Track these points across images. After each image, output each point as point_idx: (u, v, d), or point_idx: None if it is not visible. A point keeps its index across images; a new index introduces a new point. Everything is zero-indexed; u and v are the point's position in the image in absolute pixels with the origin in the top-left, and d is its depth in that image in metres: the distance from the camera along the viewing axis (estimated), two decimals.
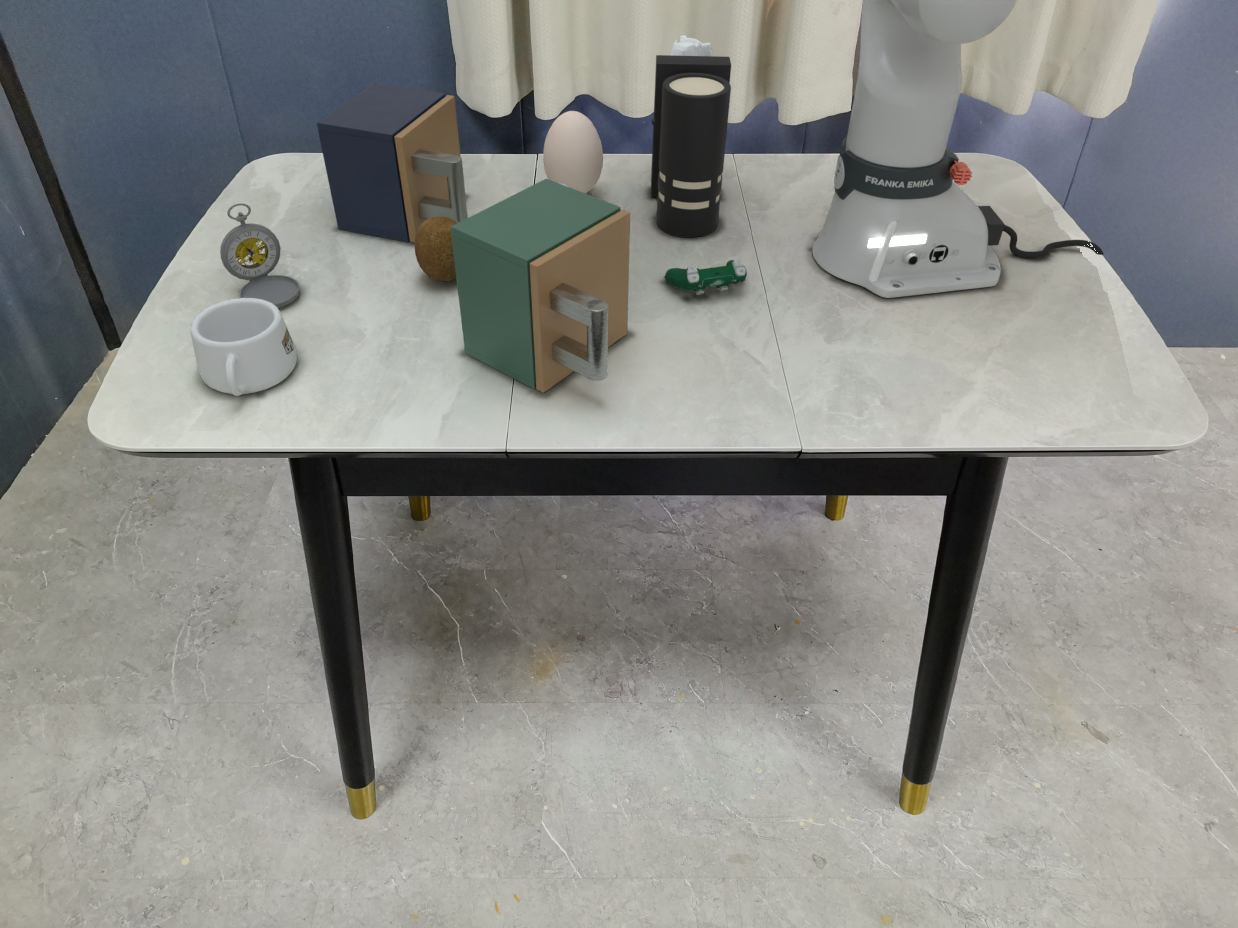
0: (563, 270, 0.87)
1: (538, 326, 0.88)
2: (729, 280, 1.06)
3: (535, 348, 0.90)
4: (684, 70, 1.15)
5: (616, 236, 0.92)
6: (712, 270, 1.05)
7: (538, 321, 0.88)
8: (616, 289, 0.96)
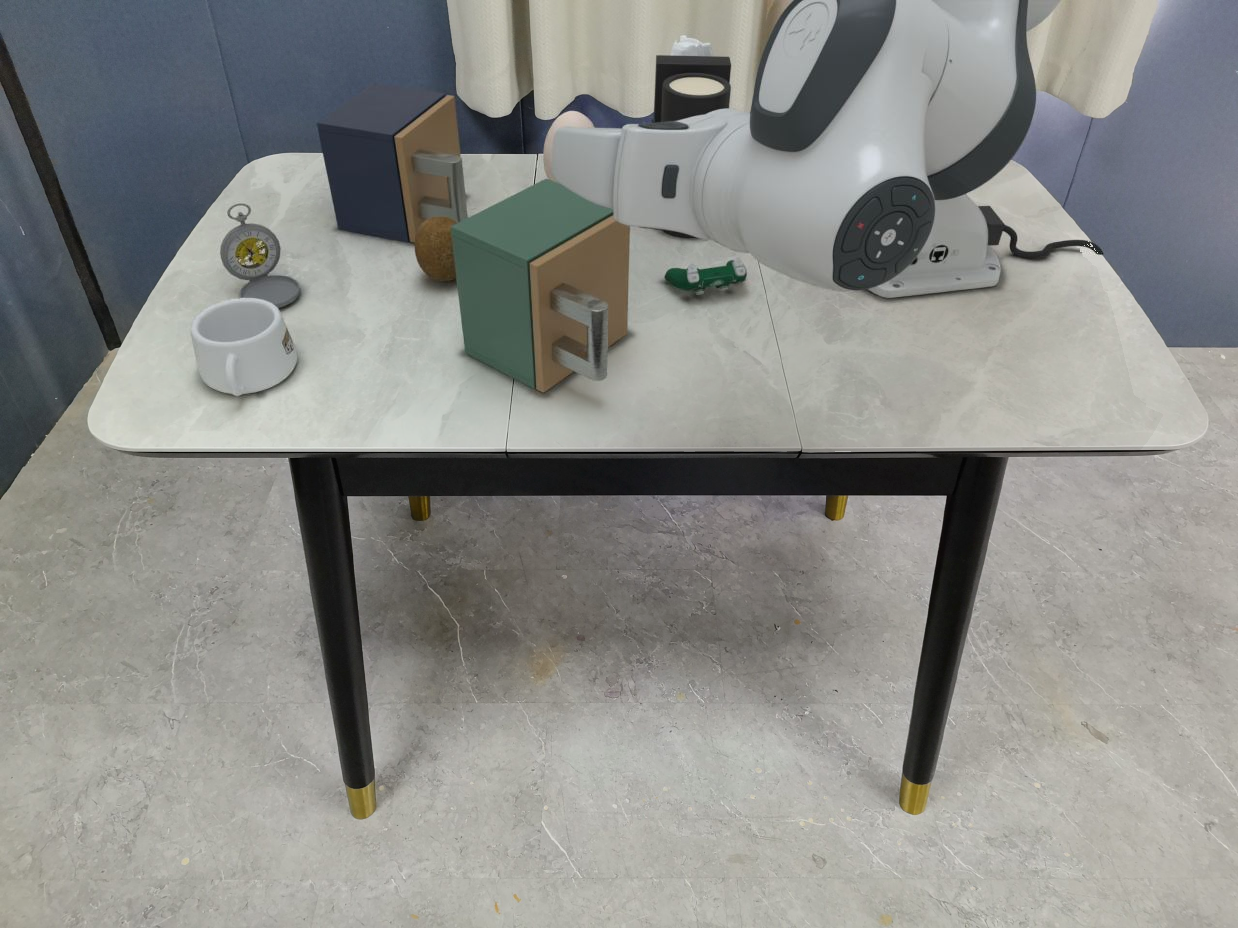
0: (563, 270, 0.87)
1: (538, 326, 0.88)
2: (729, 281, 1.06)
3: (535, 348, 0.90)
4: (684, 70, 1.15)
5: (616, 236, 0.92)
6: (712, 270, 1.05)
7: (538, 321, 0.88)
8: (616, 289, 0.96)
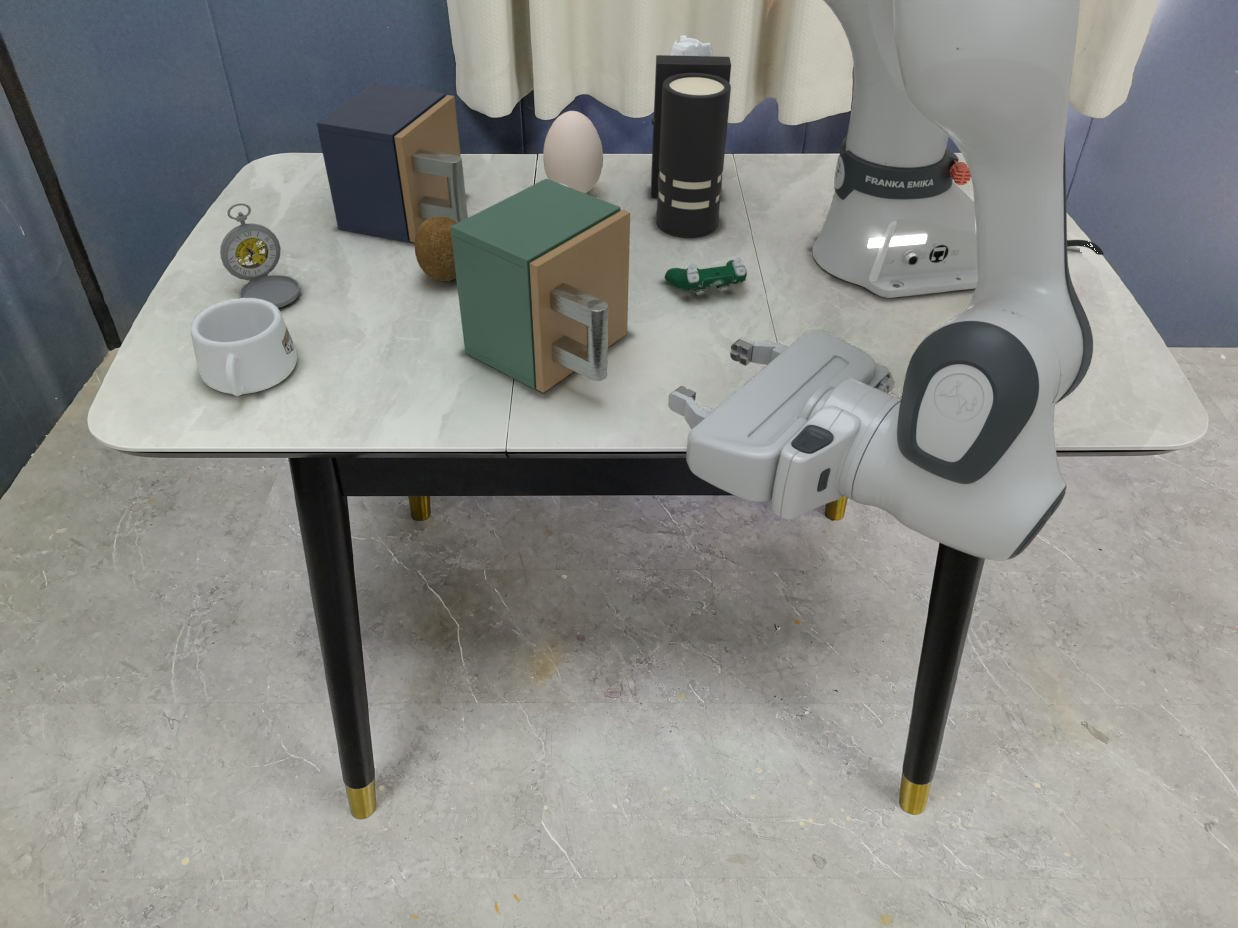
0: (563, 270, 0.87)
1: (538, 326, 0.88)
2: (729, 280, 1.06)
3: (535, 348, 0.90)
4: (684, 70, 1.15)
5: (616, 236, 0.92)
6: (712, 270, 1.05)
7: (538, 321, 0.88)
8: (616, 289, 0.96)
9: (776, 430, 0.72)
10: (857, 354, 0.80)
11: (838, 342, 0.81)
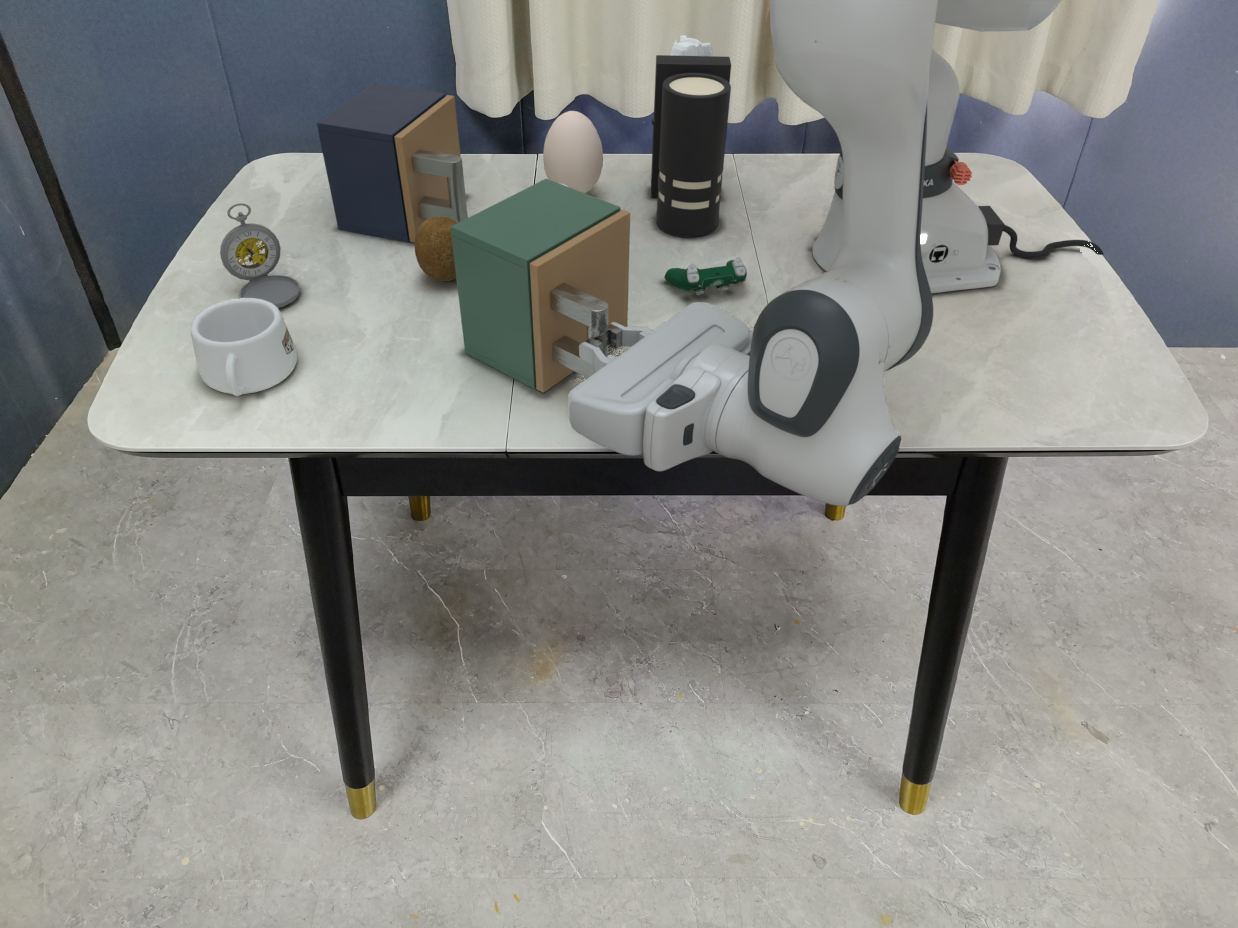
0: (563, 270, 0.87)
1: (538, 326, 0.88)
2: (729, 280, 1.06)
3: (535, 348, 0.90)
4: (684, 70, 1.15)
5: (616, 236, 0.92)
6: (712, 270, 1.05)
7: (538, 321, 0.88)
8: (616, 289, 0.96)
9: (648, 390, 0.80)
10: (734, 323, 0.87)
11: (718, 313, 0.88)
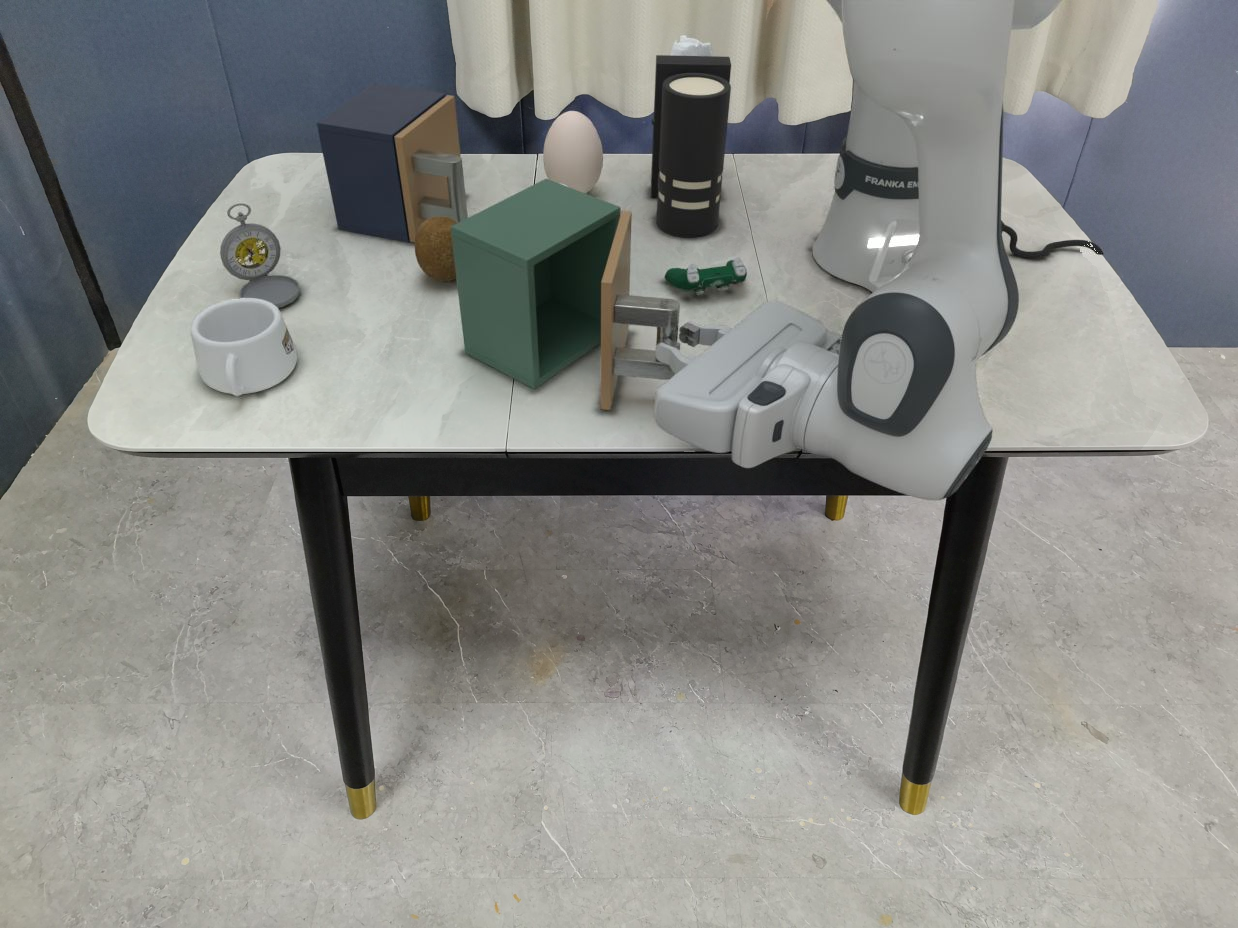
0: (617, 281, 0.86)
1: (608, 343, 0.86)
2: (729, 280, 1.06)
3: (603, 367, 0.88)
4: (684, 70, 1.15)
5: (628, 238, 0.92)
6: (712, 270, 1.05)
7: (609, 338, 0.86)
8: (627, 290, 0.96)
9: (735, 388, 0.80)
10: (810, 321, 0.88)
11: (793, 311, 0.89)
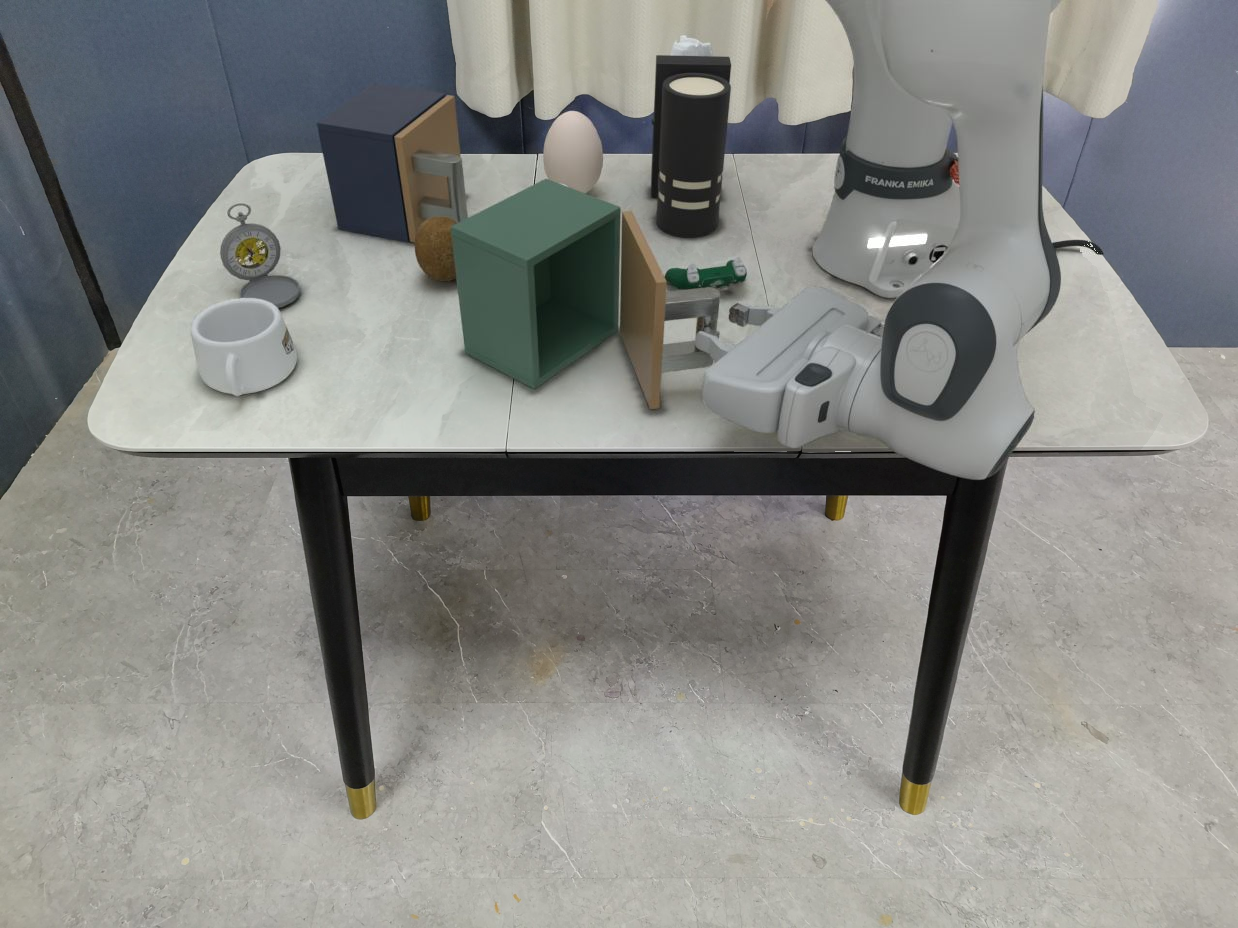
0: None
1: (661, 342, 0.87)
2: (729, 280, 1.06)
3: (654, 367, 0.88)
4: (684, 70, 1.15)
5: None
6: (712, 270, 1.05)
7: (661, 337, 0.86)
8: None
9: (781, 370, 0.82)
10: (852, 306, 0.90)
11: (835, 296, 0.91)
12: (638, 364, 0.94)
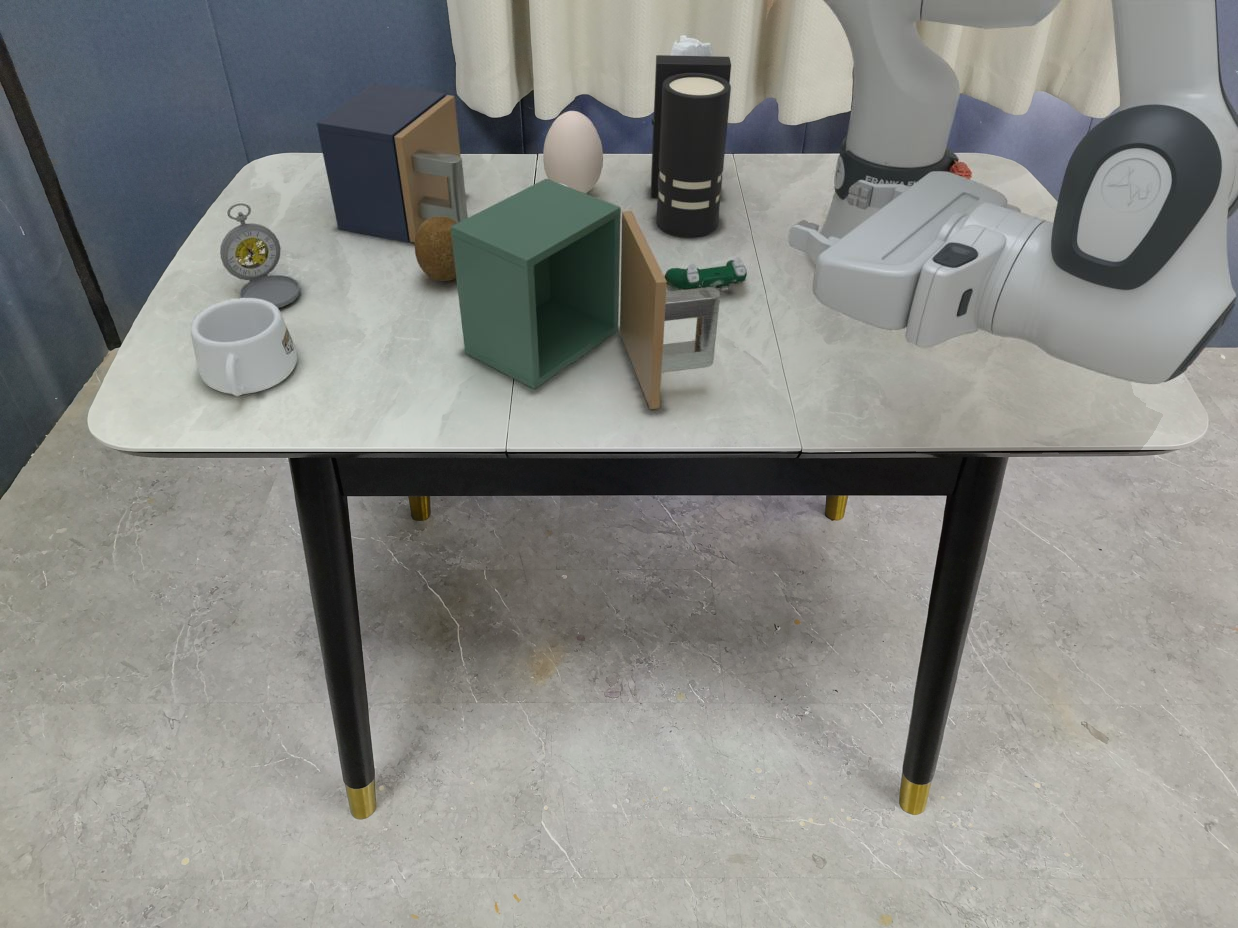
0: None
1: (661, 342, 0.87)
2: (729, 280, 1.06)
3: (654, 367, 0.88)
4: (684, 70, 1.15)
5: None
6: (712, 270, 1.05)
7: (661, 337, 0.86)
8: None
9: (911, 255, 0.68)
10: (987, 191, 0.75)
11: (965, 181, 0.77)
12: (638, 364, 0.94)
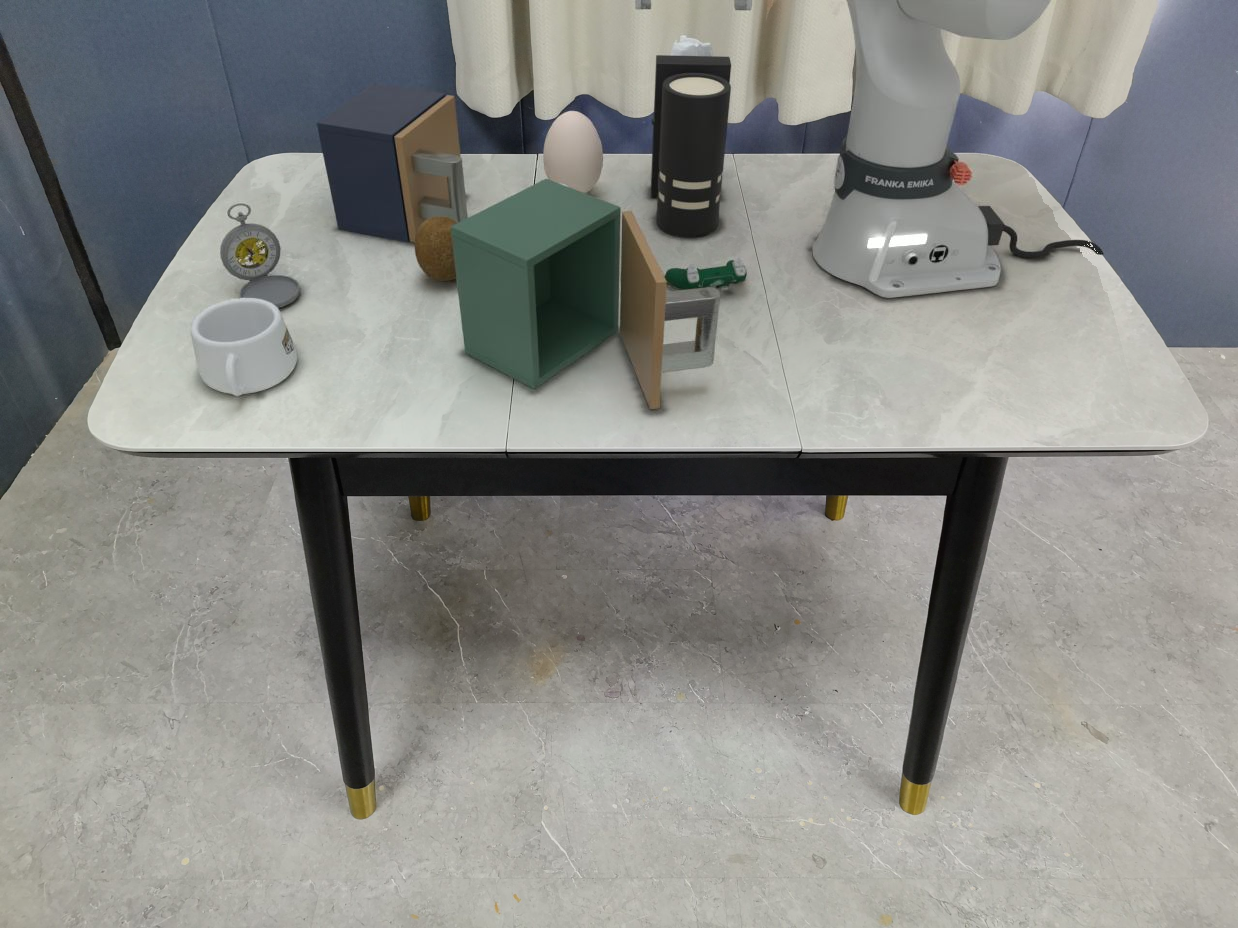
0: None
1: (661, 342, 0.87)
2: (729, 280, 1.06)
3: (654, 367, 0.88)
4: (684, 70, 1.15)
5: None
6: (712, 270, 1.05)
7: (661, 337, 0.86)
8: None
9: None
10: None
11: None
12: (638, 364, 0.94)
